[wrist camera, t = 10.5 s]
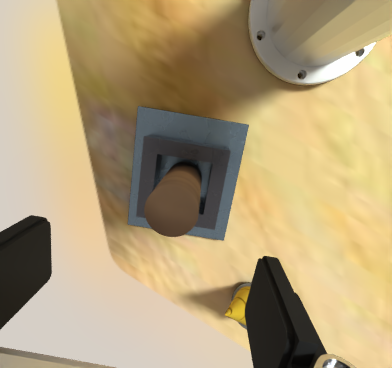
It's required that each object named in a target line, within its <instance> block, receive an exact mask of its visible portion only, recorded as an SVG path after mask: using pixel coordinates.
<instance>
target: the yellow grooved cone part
mask: <svg viewBox="0 0 392 368" xmlns="http://www.w3.org/2000/svg"><path fill="white" fill-rule="evenodd" d="M251 284H252V283H246V284H242V285H240V286H239V287H237V289H236V290H235V291H234V293H233V296H232V302H231V304H230V306H229V308H228V310H227V311H226V313H225V315H226V316H228V317H230V318H232V319H234V320H236V321H238V323H239V324H240V325H241V326H242V327H244V328H245V329H247V326H246V320H245V305H246V302H247V298H248V294H249V291H250V287H251Z"/></svg>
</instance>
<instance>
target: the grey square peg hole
mask: <svg viewBox="0 0 392 368" xmlns="http://www.w3.org/2000/svg"><path fill="white" fill-rule="evenodd" d="M248 127H249V125H247V124H241V123H235V122H229V121H223V120H217V119H211V118H205V117H199V116H193V115H187V114H181V113H175V112H169V111H164V110H158V109H152V108H146V107H140V106H138V112H137V124H136V135H135V147H134V158H133V170H132V181H131V193H130V204H129V216H128V224H129V225H135V226H140V227H146V228H151V227H150V225H149V224H148V222H147V220H146V218H145V213H144V207H145V203H146V200H147V198H148V197H149V195H150V194H151V193H152V192H153V190H154V189H155V188H156V186H157V185H158V184H159V182H160V181H161V180H162V178H163V177H164V176H165V175H166V173H167V172H168V171H169V169H170V168H171V167H172V166H173V165H174V164H176V163H178V162H190V163H192V164H194V165H195V166H196V167H197V168H198V169H199V170H200V173H201V176H202V182H201V193H200V203H199V214H198V219H197V222H196V224H195V226H194V227H193V228H192V229H191V230H190V231H189V232H188V233H186V234H188V235H194V236H200V237H205V238H211V239H217V240H223V241H224V237H225V232H226V228H227V223H228V219H229V214H230V209H231V205H232V200H233V196H234V191H235V186H236V182H237V177H238V173H239V168H240V163H241V159H242V154H243V150H244V145H245V140H246V136H247V131H248Z"/></svg>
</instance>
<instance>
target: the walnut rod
mask: <svg viewBox="0 0 392 368" xmlns="http://www.w3.org/2000/svg"><path fill="white" fill-rule="evenodd" d="M201 182H202V176H201V173H200V170H199V169H198V168H197V167H196V166H195V165H194V164H192V163H190V162H178V163H176V164H174V165H173V166H172V167H171V168H170V169H169V171H168V172H167V173H166V175H165V176H164V177H163V178H162V180H161V181H160V182H159V184H158V185H157V186H156V188H155V189H154V190H153V192H152V193H151V194H150V195H149V197H148V198H147V200H146V203H145V207H144V213H145V218H146V220H147V222H148V224H149V225H150V227H151V228H152V229H153V230H155V231H156V232H157V233H159V234H161V235H164V236H168V237H177V236H181V235H184V234H186V233H188V232H189V231H190V230H191V229H192V228H193V227H194V226H195V224H196V222H197V219H198V214H199V203H200V193H201Z"/></svg>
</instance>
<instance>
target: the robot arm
mask: <svg viewBox="0 0 392 368" xmlns="http://www.w3.org/2000/svg"><path fill="white" fill-rule="evenodd" d="M248 26H249V33H250V39H251V42H252V45H253V48H254V51H255V53H256V55H257V57H258V58H259V60H260V62H261V63H262V64H263V65H264V66H265V68H266V69H267V70H268V71H269V72H271V73H272V74H273V75H275V76H276V77H277V78H279V79H281V80H283V81H286V82H288V83H292V84H297V85H315V84H321V83H325V82H328V81H331V80H334V79H336V78H338V77H340V76H342V75H344V74H346V73H347V72H349V71H350V70H351V69H353V68H354V67H355V66H357V65H358V64H359V63H360V62H361V61H362V60H363V59H364V58H365V57H366V56H367V55H368V53H369V52H370V51H371V49H372V48H373V47H374V45H375V44H376V42H377V41H380V40H382V39H384V38H386V37H388V36H391V35H392V0H251V2H250V7H249V18H248ZM257 36H261V40H258V39H257ZM355 52H356V55H355ZM298 74H300V75H301V78H300V79H299V78H298ZM51 273H52V270H51V228H50V222H48V221H47V219H46V218H44V217H39V216H32V215H31V216H29V217H27V218H25V219H23V220H21V221H19V222H18V223H16V224H14V225H12V226H11V227H9V228H7V229H5V230H3V231H1V232H0V329H1V328H2V327H3V326H4V325H5V324H6V323H7V322H8V321H9V320H10V319H11V318H12V317H13V316H14V315H15V314H16V313H17V312H18V311H19V310H20V309H21V308H22V307H23V306H24V305H25V304H26V303H27V302H28V301H29V300H30V299H31V298H32V297H33V296H34V295H35V294H36V293H37V292H38V291H39V290H40V289H41V288H42V287H43V285H44V284H45V283H47V281H48V280H49V279H50V277H51ZM245 320H246V326H247V332H248V338H249V344H250V349H251V355H252V361H253V366H254V368H356V367H355V366H353V365H352V364H351V363H350V362H348V361H346V360H345V359H343V358H341V357H338V356H336V355H332V354H327V352H326V350H325V348H324V346H323V344H322V342H321V340H320V338H319V336H318V334H317V332H316V330H315V328H314V326H313V324H312V322H311V320H310V318H309V316H308V314H307V312H306V310H305V308H304V306H303V304H302V302H301V300H300V298H299V296H298V295H297V294H296V293H294V291H293V289H292V287H291V285H290V282H289V280H288V278H287V276H286V274H285V272H284V270H283V268H282V266H281V264H280V262H279V260H278V258H274V257H269V256H264V257H263V258H262V259H261V258H259V259H258V262H257V266H256V269H255V273H254V276H253V280H252V284H251V287H250V291H249V294H248V298H247V302H246V305H245ZM0 368H115V367H109V366H104V365H99V364H93V363H88V362H82V361H77V360H71V359H66V358H60V357H54V356H49V355H43V354H37V353H32V352H26V351H20V350H15V349H9V348H3V347H0Z"/></svg>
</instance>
